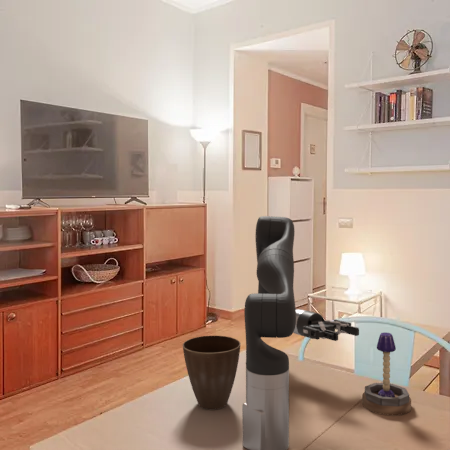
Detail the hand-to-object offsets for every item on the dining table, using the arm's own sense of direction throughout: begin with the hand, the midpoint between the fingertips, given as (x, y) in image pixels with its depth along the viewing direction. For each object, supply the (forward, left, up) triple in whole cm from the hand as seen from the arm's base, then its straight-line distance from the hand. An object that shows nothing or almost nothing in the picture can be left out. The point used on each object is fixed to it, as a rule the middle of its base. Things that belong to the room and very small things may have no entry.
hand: (348, 334), depth 138 cm
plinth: (+2, -11, -16) cm, 20 cm away
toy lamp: (+2, -11, -14) cm, 18 cm away
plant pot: (-33, +17, -16) cm, 41 cm away
